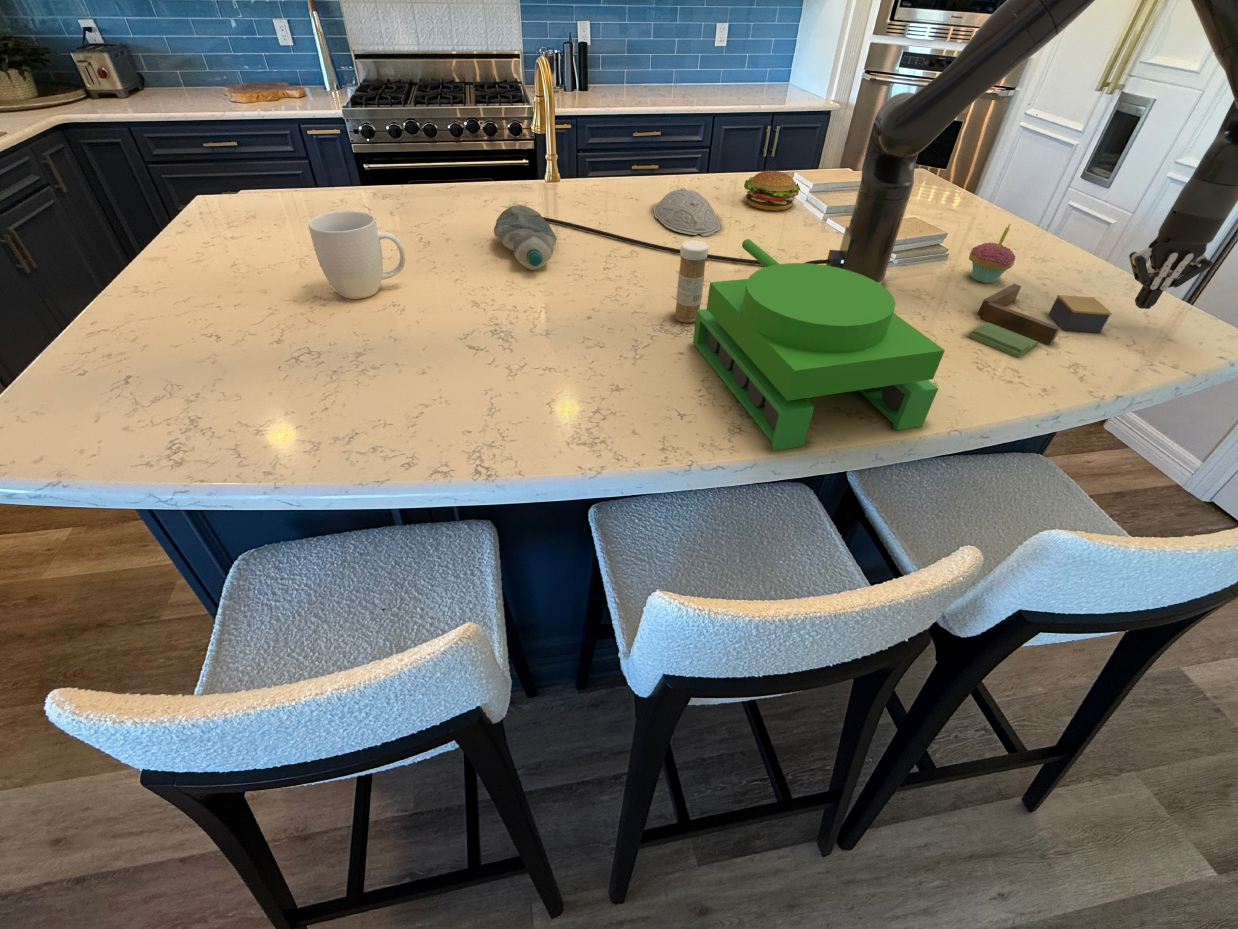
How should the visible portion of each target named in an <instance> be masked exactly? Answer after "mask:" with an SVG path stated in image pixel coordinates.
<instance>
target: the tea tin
mask: <svg viewBox="0 0 1238 929" xmlns="http://www.w3.org/2000/svg"><path fill="white" fill-rule="evenodd" d="M1112 314H1113V313H1112V311H1110V310H1109V309H1108V308H1107V307H1106V306H1105V305H1103V304H1102V302H1100V301H1099V300H1098V299H1097V298H1096V297H1093V296H1082V295H1081V296H1080V295H1067V294H1066V295H1065V294H1057V295H1056V298H1055V300H1054V302H1053V304H1052V306H1051V308H1050V310H1049V312H1048V314H1047V315H1048V316H1049V317H1050V319H1051V320H1053V321H1054V323H1055V324H1056V325H1057V326H1058V327H1060V328H1061V330H1062V331H1066V332H1067V331H1068V332H1079V333H1093V334H1100V333H1101V332H1102V330H1103V329H1104V326H1105V325H1106V323H1107V321H1108V320H1109V318H1110V316H1111V315H1112Z"/></svg>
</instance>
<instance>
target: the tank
mask: <svg viewBox="0 0 1238 929" xmlns="http://www.w3.org/2000/svg"><path fill="white" fill-rule="evenodd" d="M741 247H742V249H743V250H745V252H747V253H748V254H749V255H750V256H751V257H752V258H754V260H757V261H759V262H760V263H761V264H762V265H761V266H764V267H762V268H760V269H757V270H755V271H754V272H753V273H752V274H750V275H749V277H748V278H741V279H732V280H720V281H718V280H717V281H710V282H709V288H708V296H707V301H706V302H707V303H706V308H704V309H703V308H702V309H701V308H700V310H697V313H696V321H695V322H694V330H693V338H692V344H693V346H695V347H696V348H697V350H698V351H699V353H700V354H701V355H702V357H703V358H704V359H705V360H706V361H707V362H708V364H709V365H710V366H711V368H712V369H713V370H714V371H715V372H716V374H717V375H718V377H719V378H720V380H722V381H723V383H724V384H725V386H727V388H728V389H729V390H730V392H731V393H732V394H733V395H734V397H735V398H736V399H737V401H738V402H739V403H740V405H741V406H742V407H743V408H744V409H745V411H746V412H747V413H748V415H749V416H750V417H751V418H752V420H753V421H754V422H755V423H756V425H757V426H758V427H759V428H760V430H761V431H762V432H763V433H764V435H765V436H766V437H767V438H768V440H769V442H771V446H770V447H771V449H772V450H773V451H774V452H777V451H783V450H789V449H793V448H800V447H804V444H805V441H806V439H807V435H808V430H809V428H810V423H811V419H812V417H813V413H814V410H815V406H813V404H812V403H811V402H810V401H809V400H808V399H809V398H814V397H821V396H823V397H824V396H829V395H835V394H843V393H847V392H848V393H849V392H857V391H858V392H859V393H860V394H861V395H862V396H863V397H864V398H865V399H867V400H868V401H869V402H870V404H872V405H873V406H874V407H875V408H876V409H877V410H878V411H879V412H880V413H881V414H883V416H884V417H886V418H887V419H888V420H889V421H890V422H891V424H892V428H893V429H894V430H895V431H901V430H906V429H907V430H908V429H913V428H919V427H923V426H924V424H925V422H926V419H927V416H928V414H929V412H930V409H931V407H932V405H933V403H934V400H935V398H936V395H937V394H938V390H939V387H938V386H937V385H935V384H934V383H932V382H931V381H930V380H934V378H935V375H936V373H937V371H938V369H939V366H940V364H941V361H942V359H943V356H944V353H945V352H946V350H945V349H944V348H943V347H941V346H940V345H938V344H937V343H936V342H934V341H933V340H932V339H930V338H929V337H928V336H926V335H925V334H923V333H922V332H921V331H920V330H918V329H917V328H916V327H914V326H913V325H911V324H910V323H908V322H907V321H906V320H904V319H903V318H901V317H900V316H899V315H898V314H896V313H895V309H896V300H895V297H894V295H893V294H892V293H891V292H890V291H889V290H888V289H887V288H886V287H885V286H883V284H882V285H881V284H879V283H877V282H876V281H874V280H872V279H870V278H868V277H865V276H863V275H861V274H858V273H855V272H852V271H849V270H845V269H841V268H837V267H832V266H827V265H826V264H810V263H805V262H790V263H789V262H788V263H780V262H778V261H777V260H776V259H774V258H773V257H772V256H771V255H770V254H769V253H767V252H766V251H764V249H762V248H761V247H760V246H758V245H757V244H756V243H754V242H753V241H752V240H751V239H749V238H746V239H744V240H743V241H742V244H741Z"/></svg>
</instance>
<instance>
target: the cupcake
mask: <svg viewBox="0 0 1238 929" xmlns="http://www.w3.org/2000/svg"><path fill="white" fill-rule="evenodd" d="M1010 226H1011V223H1009V224H1008V226H1006V227H1005V229H1004V231H1003V232H1002V235H1001V237H1000V238H999V241H998V243H997V242H984V243H981V244H978V245H977V246H976V245H975V246H974V247H972V249H971V251H970V252H969V255H968V260H969V261H971V262H972V263H971V264H972V267H971V268H972V269H971V277H972V279H974V280H975V281H978V282H980V283H984V284H985V283H986V284H993V283H996V282H997V281H998V279H999V278H1000V277H1001V276H1002V275H1003V274H1004V273H1005V272H1006V271H1007V270H1009V269H1011V268H1012V267H1013V266H1014V264H1015V261H1016V255H1015V253H1014V252H1013V250H1011V248H1010V247H1009V248H1008V247H1007V246H1004V245H1003V243H1004V241H1005V239H1006V237H1007V235H1008V233H1009V231H1010V229H1011V227H1010Z"/></svg>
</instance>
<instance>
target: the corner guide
mask: <svg viewBox="0 0 1238 929" xmlns="http://www.w3.org/2000/svg"><path fill="white" fill-rule="evenodd" d="M1021 288H1022V285H1019V284H1017V283H1013V284H1010V285H1008V286H1007V287H1005V288H1003V289H1001V290H999V291H998V292H995V293H993V294H992V295H990V296H988V297H986V298H984V299H982V302H981V305H980V307H979V309H978V312H977V315H978V316H980V320H983V321H984V322H985V321H986V322H988V323H991V324H994V325H996V326H999V327H1001V328H1004V329H1006V330H1009V331H1012V332H1014V333H1017V334H1019V335H1022V336H1025V337H1027V338H1030V339H1032V340H1035V341H1037V342H1040V343H1042V344H1045V345H1047V346H1051V345H1052V344H1054V342H1055V340H1056V338H1057V336H1058V334H1059V332H1060V331H1061V330H1062V328H1061V327H1060V326H1059V325H1056V324H1053V323H1049V322H1047V321H1044V320H1041V319H1038V318H1036V317H1033V316H1030V315H1028V314H1025V313H1022V312H1019V311H1016V310H1014V309H1012V308H1008V307H1007V306H1008V305H1009V304H1011V303H1014V302H1015V301H1016V300H1017V297H1018V295H1019V293H1020V291H1021Z"/></svg>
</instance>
